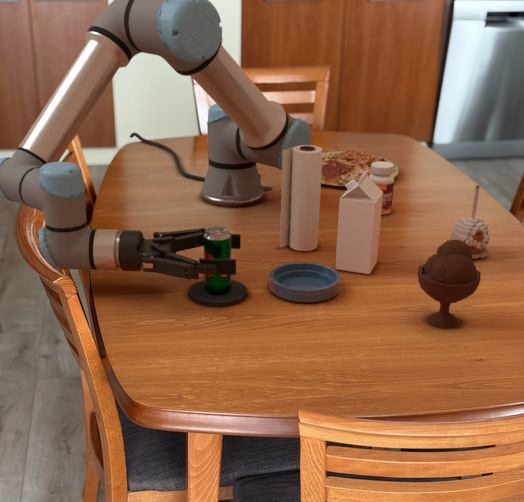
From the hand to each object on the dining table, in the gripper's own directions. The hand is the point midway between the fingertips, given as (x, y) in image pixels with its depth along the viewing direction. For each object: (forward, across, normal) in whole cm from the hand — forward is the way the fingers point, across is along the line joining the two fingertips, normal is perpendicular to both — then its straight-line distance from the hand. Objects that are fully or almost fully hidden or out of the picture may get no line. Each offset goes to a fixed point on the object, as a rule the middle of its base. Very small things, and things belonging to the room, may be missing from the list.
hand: (238, 253), depth 158 cm
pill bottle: (+30, -50, -8) cm, 59 cm away
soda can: (-4, 0, -8) cm, 9 cm away
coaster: (-4, 0, -8) cm, 9 cm away
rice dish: (+24, -78, -8) cm, 82 cm away
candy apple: (+47, -24, -8) cm, 54 cm away
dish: (+13, -4, -8) cm, 15 cm away
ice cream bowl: (+37, +8, -8) cm, 39 cm away
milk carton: (+23, -16, -8) cm, 29 cm away
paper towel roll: (+12, -25, -8) cm, 29 cm away
